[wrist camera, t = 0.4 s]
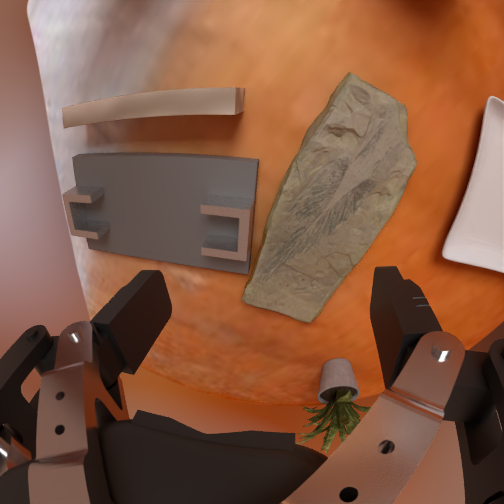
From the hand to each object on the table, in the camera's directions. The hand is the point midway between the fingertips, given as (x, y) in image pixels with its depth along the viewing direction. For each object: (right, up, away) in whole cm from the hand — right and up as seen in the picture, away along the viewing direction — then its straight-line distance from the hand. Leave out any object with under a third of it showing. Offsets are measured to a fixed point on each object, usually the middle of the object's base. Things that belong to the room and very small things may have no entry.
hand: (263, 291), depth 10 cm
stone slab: (+8, +6, +21) cm, 24 cm away
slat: (-11, +18, +17) cm, 27 cm away
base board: (-12, +7, +23) cm, 27 cm away
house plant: (+14, -18, +35) cm, 42 cm away
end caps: (-12, +6, +22) cm, 26 cm away
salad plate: (+34, +9, +15) cm, 38 cm away
